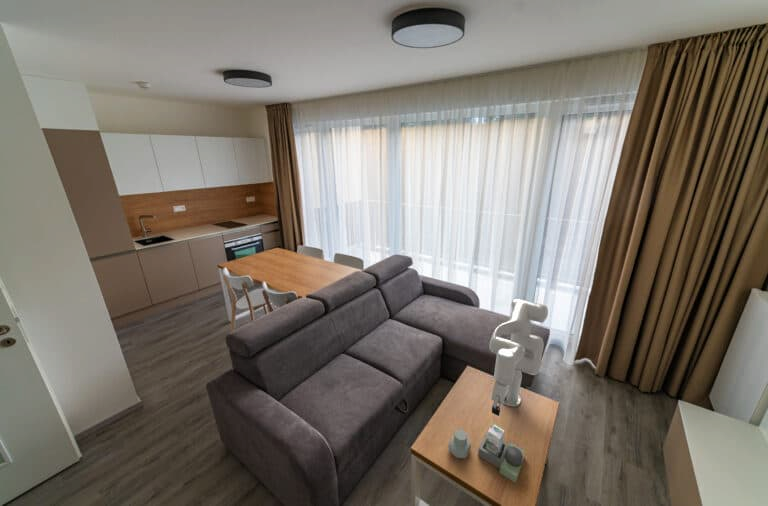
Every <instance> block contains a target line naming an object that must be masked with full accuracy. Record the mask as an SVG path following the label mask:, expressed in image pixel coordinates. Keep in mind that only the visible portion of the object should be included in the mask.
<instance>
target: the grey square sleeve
mask: <svg viewBox="0 0 768 506" xmlns="http://www.w3.org/2000/svg"><path fill="white" fill-rule="evenodd" d="M487 434H488V431H487V432H486V433H485V435H484V437H483V439H482V441H481V443H480V446H479V447H478V453H477V456H479V457H480V458H482V459H483V460H484V461H486V462H488V463H490V464H491V465H493V466H494V467H496V468H497V469H499V474H500V475H502V476H503V477H505V478H507V479H509V481H511V482H513V483H515V484H517V480H518V476H519V474H520V471H521V468H522V465H523V462H524V459H525V455H526V450H524V449H522V448H520V447H519V446H518V445H515V444H513V443H511V442H509V443H507V442H505V441H504V440H503V443H502V449H501V454H500V456H499V457H497V456H495V455H493V454H492V453H490V452H488V451H487V450H485V448H486V441H487Z"/></svg>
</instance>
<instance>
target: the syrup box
mask: <svg viewBox="0 0 768 506" xmlns="http://www.w3.org/2000/svg"><path fill="white" fill-rule="evenodd" d="M487 432H488V434H487V441H486V446H485V448H484V449H485V450H487V451H488V452H490V453H492V454H493V455H495V456H497V457H498V458H500V456H501V454H502V450H501V449H502V443H503V441H504V436H505V430H504V429H503V428H501V427H499V425H498V426H497V425H496V424H495V423H492V424H491V426H490V427H489V429H488V431H487Z"/></svg>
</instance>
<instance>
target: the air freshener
mask: <svg viewBox="0 0 768 506" xmlns="http://www.w3.org/2000/svg"><path fill="white" fill-rule="evenodd" d="M471 447H472V443H471V441H470V440H469V438H468V434H467V432H466V431H464V429H457V430H455V431H454V434H453V435H452V436H451V438H450V440H449V443H448V449H449V452H450V453H451V454H452V455H453V456H454V457H456V458H458V459H466V458H467V456H468V455H469V452H470V450H471Z"/></svg>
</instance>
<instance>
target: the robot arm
mask: <svg viewBox="0 0 768 506" xmlns="http://www.w3.org/2000/svg"><path fill="white" fill-rule="evenodd" d="M510 307H511V313H510V316H509V319H508V321H505V322H503V323H501V324H499V325H498V326H497V327H496V328H495V329H494V331H493V333H492V336H491V337H490V340H489V347H488V348H489V350H490V352H492V353H493V354H496V359H495V365H494V372H493V374H494V375H493V379H494V383H493V388H492V393H491V397H490V400H491V401H493V403H492V407H491V413H492V414H493V415H494V416H498V417H500V412H501V405H505V406H508V407H513V408H514V407H517V406H519V405H520V404H521V400H522V398H521V396H520V390H521V389H520V388H521V384H522V377H523V375H522V373H526V374H529V375H532V376H536V375H537V374H538V373H539V371H540V366H541V361H542V357H543V351H544V345H545V344H544V340H543V338H542V337H541V336H539V335H535V334H531V330H532V329H531V328H532V323H531V321H534V322H537V323H544V322H545V321H546V320H547V318H548V316H549V315H548V314H549V309H548V306H547V305H544V304H540V303H537V302H533V301H528V300H525V299H521V298H520V299H519V298H516V299H513V300H512V301H511V304H510ZM505 335H510V339H508V338H504V337H502V336H505ZM526 352H527V353H526ZM528 353H530V354H528Z"/></svg>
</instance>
